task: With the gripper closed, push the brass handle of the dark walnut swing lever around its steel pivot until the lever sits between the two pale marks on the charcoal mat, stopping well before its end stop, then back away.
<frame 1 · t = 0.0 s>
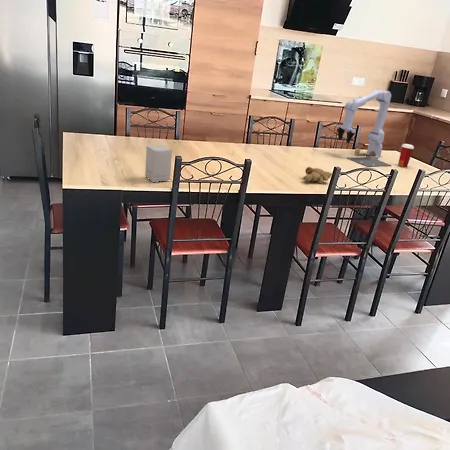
hand: (343, 141, 292), 10 cm above the table, tool pointing down, fingers open, 7 cm apart
ginger root: (314, 180, 237), on the table
paper cup: (402, 166, 291), on the table
lever: (365, 152, 293), point 5 cm above the table, hinge at 0.0°
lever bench: (371, 159, 298), on the table
supplement box: (157, 179, 208), on the table
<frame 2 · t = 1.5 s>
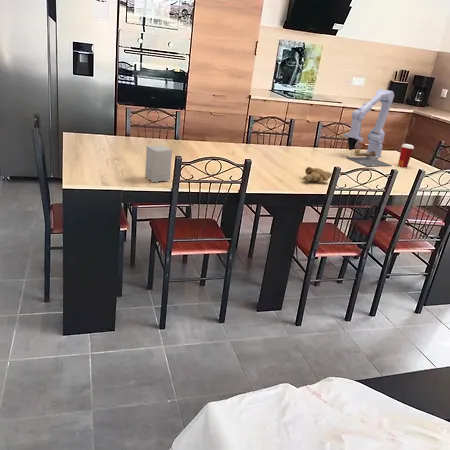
hand: (350, 149, 294), 5 cm above the table, tool pointing down, fingers closed
nothing on the table moved.
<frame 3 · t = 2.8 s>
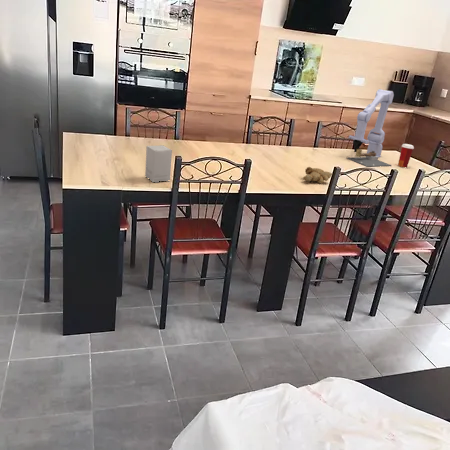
hand: (355, 152, 290), 5 cm above the table, tool pointing down, fingers closed
lever: (366, 152, 292), point 5 cm above the table, hinge at 4.9°, touching gripper
everything else where it was.
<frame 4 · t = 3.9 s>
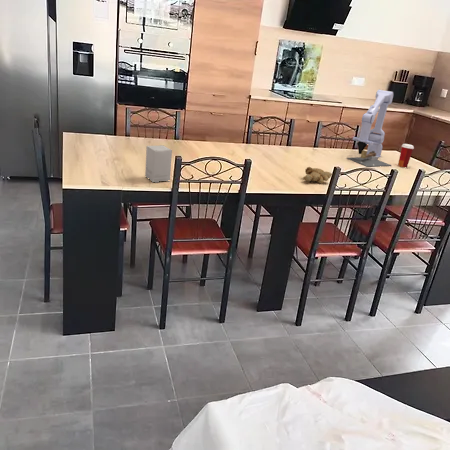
hand: (359, 153, 288), 5 cm above the table, tool pointing down, fingers closed
lever: (368, 153, 291), point 5 cm above the table, hinge at 21.1°, touching gripper
everything else where it was.
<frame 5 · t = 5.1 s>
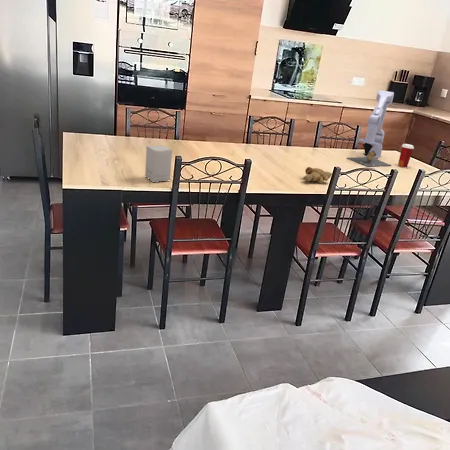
hand: (365, 155, 285), 5 cm above the table, tool pointing down, fingers closed
lever: (371, 153, 290), point 5 cm above the table, hinge at 38.8°, touching gripper
everything else where it was.
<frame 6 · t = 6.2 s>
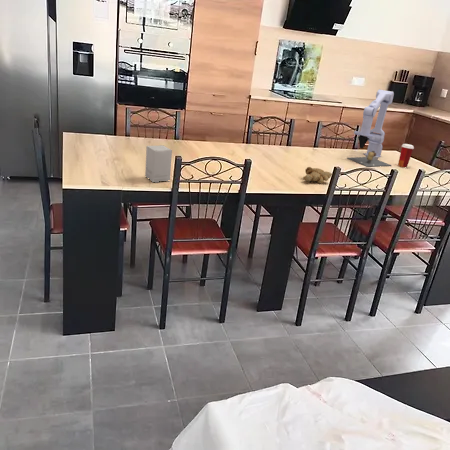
hand: (361, 147, 285), 9 cm above the table, tool pointing down, fingers closed
lever: (371, 153, 290), point 5 cm above the table, hinge at 38.9°
everything else where it was.
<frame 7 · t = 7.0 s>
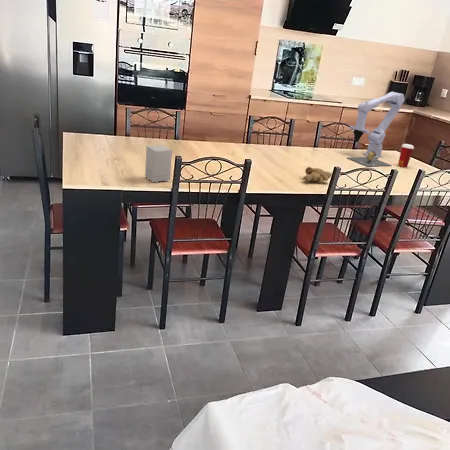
hand: (356, 141, 299), 9 cm above the table, tool pointing down, fingers closed
nothing on the table moved.
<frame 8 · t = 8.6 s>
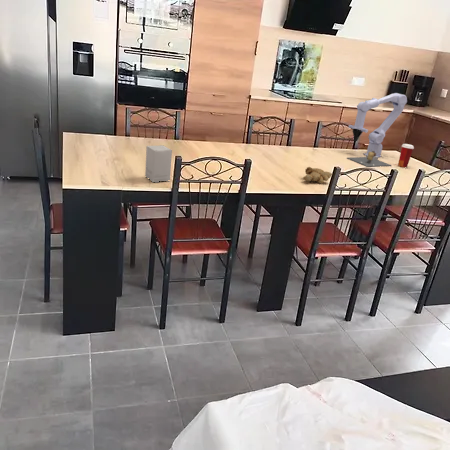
hand: (355, 140, 302), 9 cm above the table, tool pointing down, fingers closed
nothing on the table moved.
at the end: lever at +39° (first picture: +0°) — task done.
